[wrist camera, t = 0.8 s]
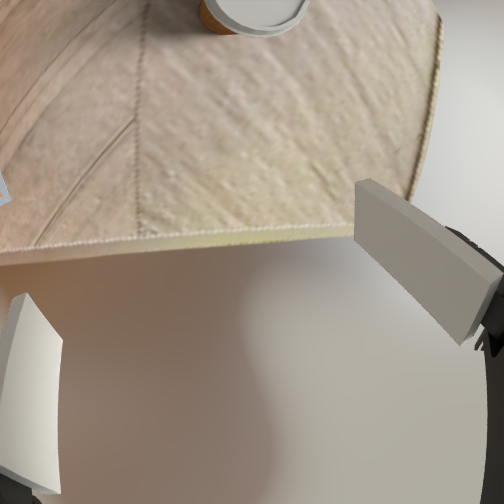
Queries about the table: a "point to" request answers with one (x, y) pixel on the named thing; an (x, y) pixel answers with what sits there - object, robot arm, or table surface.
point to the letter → (3, 192)
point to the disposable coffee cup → (252, 16)
